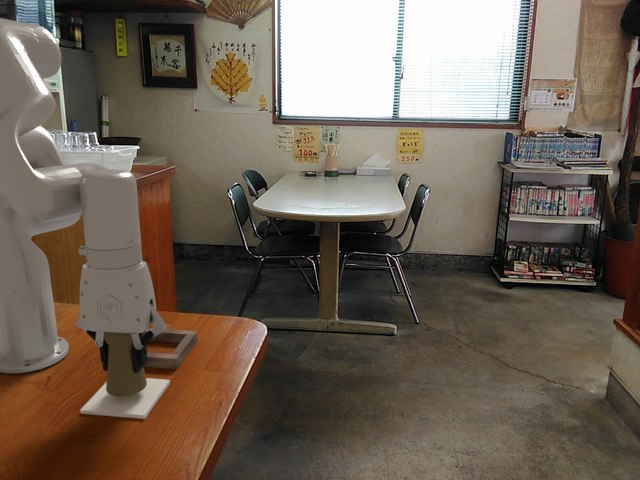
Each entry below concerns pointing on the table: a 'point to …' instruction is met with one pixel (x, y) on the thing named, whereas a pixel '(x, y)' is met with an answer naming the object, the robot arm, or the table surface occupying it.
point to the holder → (179, 354)
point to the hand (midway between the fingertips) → (124, 366)
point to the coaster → (126, 401)
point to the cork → (122, 366)
